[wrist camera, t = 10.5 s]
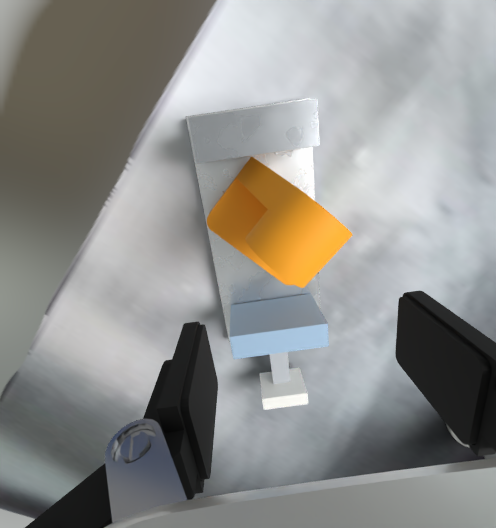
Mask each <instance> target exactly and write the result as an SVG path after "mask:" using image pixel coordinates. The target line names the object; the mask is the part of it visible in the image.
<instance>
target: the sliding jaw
mask: <svg viewBox="0 0 496 528" xmlns="http://www.w3.org/2000/svg"><path fill="white" fill-rule="evenodd" d="M230 342H231V348H232V353H233V358H234V359H239V358H247V357H254V356H261V355H269V356H270V363H271V372H264V373H259V374H260V383H261V392H262V401H263V407H264V410H267V409H274V408H282V407H289V406H296V405H304V404H308V395H307V390H306V387H305V384H304V380H303V377H302V374H301V370H300V368H293V369H289V361H288V352H290V351H298V350H305V349H312V348H319V347H327V346H329V341H328V323H327V321H326V319H325V318H324V316H323V314H322V312H321V310H320V309H319V307H318V305H317V303H316V301H315V300H314V298H313V296H312V294H306V295H299V296H292V297H285V298H278V299H271V300H264V301H256V302H249V303H242V304H235V305H231V313H230Z"/></svg>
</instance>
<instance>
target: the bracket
mask: <svg viewBox="0 0 496 528" xmlns="http://www.w3.org/2000/svg"><path fill="white" fill-rule="evenodd" d="M207 225H208V227H209V229H210V230H211V231H213V232H214V233H215V234H217V235H218V236H219V237H221V238H222V239H223V240H225V241H226V242H228V243H229V244H230V245H232V246H233V247H234V248H236V249H237V250H238V251H240V252H241V253H243V254H244V255H245V256H247V257H248V258H249V259H251V260H252V261H253V262H255V263H256V264H258V265H259V266H260V267H262V268H263V269H264V270H266V271H267V272H268V273H270V274H271V275H273V276H274V277H275V278H277V279H278V280H279V281H281V282H282V283H283V284H285V285H296V286H298V287H300V288H304V287H305V286H306V285H307V284H308V283H309V282H310V281H311V280H312V278H313V277H314V276H315V275H316V274H317V273H318V272H319V271H320V270H321V269H322V268H323V267H324V265H325V264H326V263H327V262H328V261H329V260H330V259H331V258H332V257H333V256H334V255H335V254H336V253H337V251H338V250H339V249H340V248H341V247H342V246H343V245H344V244H345V243H346V242H347V241H348V240H349V238H350V237H351V236H352V233H351V232H350V231H349V230H348V229H347V228H346V227H345V226H344V225H343V224H341V223H340V222H339V221H338V220H337V219H336V218H335V217H333V216H332V215H331V214H330V213H329V212H328V211H326V210H325V209H324V208H323V207H322V206H320V205H319V204H318V203H317V202H315V201H314V200H313V199H312V198H310V197H309V196H308V195H307V194H305V193H304V192H303V191H301V190H300V189H299V188H297V187H296V186H294V185H293V184H291V183H290V182H288V181H287V180H286V179H284V178H283V177H281V176H280V175H278V174H277V173H275V172H274V171H272V170H271V169H270V168H268V167H267V166H265V165H264V164H262V163H261V162H259V161H258V160H256V159H255V158H254V157H250V159H249V160H248V162H247V163H246V164H245V166H244V167H243V168H242V170H241V171H240V172H239V174H238V175H237V176H236V178H235V179H234V180H233V182H232V183H231V184H230V186H229V187H228V189H227V190H226V191H225V193H224V194H223V195H222V197H221V198H220V199H219V201H218V202H217V203H216V205H215V206H214V207H213V209H212V210H211V212H210V213H209V215H208V217H207Z"/></svg>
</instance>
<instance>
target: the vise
mask: <svg viewBox="0 0 496 528" xmlns="http://www.w3.org/2000/svg"><path fill="white" fill-rule="evenodd" d="M186 121H187V126H188V131H189V136H190V142H191V147H192V152H193V157H194V162H195V168H196V173H197V178H198V183H199V188H200V194H201V199H202V204H203V209H204V214H205V220H206V225H207V217H208V215H209V213H210V212H211V210H212V209H213V207H214V206H215V205H216V203H217V202H218V201H219V199H220V198H221V197H222V195H223V194H224V193H225V191H226V190H227V189H228V187H229V186H230V184H231V183H232V182H233V180H234V179H235V178H236V176H237V175H238V174H239V172H240V171H241V170H242V168H243V167H244V166H245V164H246V163H247V162H248V160H249V159H250V157H254V158H255V159H256V160H258V161H259V162H261V163H262V164H264V165H265V166H267V167H268V168H270V169H271V170H272V171H274V172H275V173H277V174H278V175H280V176H281V177H283V178H284V179H286V180H287V181H288V182H290V183H291V184H293V185H294V186H296V187H297V188H299V189H300V190H301V191H303V192H304V193H305V194H307V195H308V196H309V197H310V198H312V199H313V200H314V201H315V191H314V172H313V152H312V147H314V146H319V123H318V100H317V99H312V100H310V98H308V99H301V100H294V101H287V102H281V103H274V104H267V105H261V106H254V107H247V108H240V109H234V110H227V111H220V112H213V113H207V114H200V115H193V116H187V117H186ZM207 230H208V235H209V240H210V246H211V251H212V256H213V261H214V266H215V272H216V277H217V282H218V287H219V292H220V298H221V303H222V308H223V313H224V318H225V324H226V329H227V334H228V339H229V342H230V313H231V305H235V304H242V303H249V302H256V301H264V300H271V299H278V298H285V297H292V296H299V295H306V294H312V296H313V298H314V300H315V301H316V303H317V305H318V307H319V309H320V310H321V307H320V288H319V272H318V273H317V274H316V275H315V276H314V277H313V278H312V280H311V281H310V282H309V283H308V284H307V285H306V286H305V287H304V288H300V287H298V286H296V285H285V284H283V283H282V282H281V281H279V280H278V279H277V278H275V277H274V276H273V275H271V274H270V273H268V272H267V271H266V270H264V269H263V268H262V267H260V266H259V265H258V264H256V263H255V262H253V261H252V260H251V259H249V258H248V257H247V256H245V255H244V254H243V253H241V252H240V251H238V250H237V249H236V248H234V247H233V246H232V245H230V244H229V243H228V242H226V241H225V240H223V239H222V238H221V237H219V236H218V235H217V234H215V233H214V232H213V231H211V230H210V229H209V227H208V225H207Z"/></svg>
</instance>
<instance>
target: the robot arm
mask: <svg viewBox="0 0 496 528" xmlns="http://www.w3.org/2000/svg"><path fill="white" fill-rule="evenodd" d="M396 359H397V361H398V363H399V365H400V366H401V367H402V368H403V370H404V371H405V372H406V374H407V375H408V376H409V377H410V379H411V380H412V381H413V382H414V384H415V385H416V386H417V387H418V389H419V390H420V391H421V392H422V394H423V395H424V396H425V397H426V399H427V400H428V401H429V402H430V404H431V405H432V406H433V407H434V409H435V410H436V411H437V412H438V414H439V415H440V416H441V417H442V419H443V420H444V421H445V423H446V425H447V428H448V431H449V432H450V433H451V435H452V436H453V437H454V439H455V440H456V441H457V442H459V443H460V444H462V445H464V446H466V447H469V448H471V449H472V450H473V452H474V453H475V454H476V455H477V456H484V457H485V458H486V459H483V460H475V461H467V462H459V463H451V464H443V465H436V466H428V467H420V468H412V469H405V470H397V471H389V472H382V473H374V474H367V475H359V476H352V477H344V478H337V479H329V480H322V481H315V482H307V483H300V484H293V485H286V486H278V487H271V488H264V489H256V490H249V491H242V492H236V493H230V494H223V495H217V496H211V497H204V498H198V499H192V498H193V497H194V495H195V494H196V493H203V487H204V479H209V478H210V473H211V462H212V450H213V438H214V427H215V415H216V403H217V391H218V382H217V376H216V372H215V367H214V363H213V358H212V354H211V349H210V345H209V340H208V336H207V331H206V327H205V325H200V323H199V322H191V323H185V324H184V325H183V328H182V331H181V334H180V337H179V340H178V344H177V347H176V350H175V353H174V356H173V359H172V360H166V361H165V362H164V363H163V365H162V368H161V371H160V374H159V376H158V379H157V382H156V385H155V387H154V390H153V393H152V396H151V398H150V401H149V404H148V407H147V409H146V412H145V415H144V418H143V419H140V420H136V421H133V422H131V423H129V424H127V425H126V426H124V427H123V428H121V429H120V430H119V431H118V432H117V433H116V434H115V435H114V436H113V438H112V439H111V440H110V442H109V443H108V446H107V448H106V451H105V464H104V465H102V466H101V467H100V468H99V469H97V470H96V471H95V472H94V473H92V474H91V475H90V476H89V477H87V478H86V479H85V480H84V481H82V482H81V483H80V484H79V485H77V486H76V487H75V488H74V489H73V490H71V491H70V492H69V493H68V494H66V495H65V496H64V497H63V498H61V499H60V500H59V501H58V502H56V503H55V504H54V505H53V506H51V507H50V508H49V509H48V510H46V511H45V512H44V513H43V514H41V515H40V516H39V517H38V518H36V519H35V520H34V521H33V522H31V523H30V524H29V525H28V526H26V527H25V528H496V343H495V342H494V341H492V340H491V339H490V338H488V337H487V336H485V335H484V334H482V333H481V332H480V331H478V330H477V329H475V328H474V327H473V326H471V325H470V324H468V323H467V322H465V321H464V320H463V319H461V318H460V317H458V316H457V315H455V314H454V313H453V312H451V311H450V310H448V309H447V308H446V307H444V306H443V305H441V304H440V303H438V302H437V301H436V300H434V299H433V298H431V297H430V296H429V295H427V294H426V293H424V292H423V291H414V292H407V293H404V294H403V297H400V299H399V305H398V322H397V339H396ZM191 499H192V500H191Z"/></svg>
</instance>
